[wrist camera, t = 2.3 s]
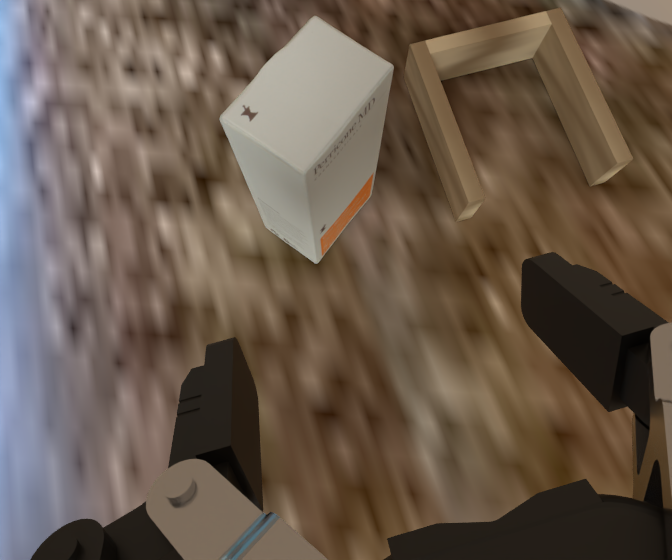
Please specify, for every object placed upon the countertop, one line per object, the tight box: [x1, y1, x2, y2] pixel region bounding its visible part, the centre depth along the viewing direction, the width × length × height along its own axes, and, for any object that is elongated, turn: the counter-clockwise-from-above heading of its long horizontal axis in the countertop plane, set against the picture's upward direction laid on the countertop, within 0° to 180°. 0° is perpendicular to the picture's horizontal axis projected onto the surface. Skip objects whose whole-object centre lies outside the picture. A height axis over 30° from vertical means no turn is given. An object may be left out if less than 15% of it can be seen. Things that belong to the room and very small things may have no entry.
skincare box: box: [220, 16, 394, 264], centre depth 23 cm, size 6×4×12 cm
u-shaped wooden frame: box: [404, 8, 633, 222], centre depth 29 cm, size 10×11×3 cm
